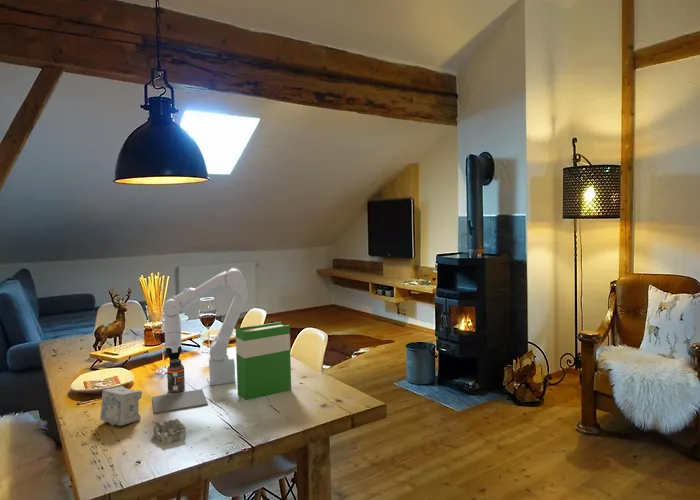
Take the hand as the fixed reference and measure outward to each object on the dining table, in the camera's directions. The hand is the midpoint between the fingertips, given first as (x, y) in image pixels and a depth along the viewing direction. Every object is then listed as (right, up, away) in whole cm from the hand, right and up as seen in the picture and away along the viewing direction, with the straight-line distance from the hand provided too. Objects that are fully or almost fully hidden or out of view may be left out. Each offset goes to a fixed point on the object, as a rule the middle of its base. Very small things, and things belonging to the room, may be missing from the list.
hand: (174, 366), depth 188 cm
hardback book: (+35, -8, -7) cm, 37 cm away
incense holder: (-6, -10, -31) cm, 33 cm away
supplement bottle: (+2, -8, -4) cm, 9 cm away
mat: (+7, -9, -15) cm, 19 cm away
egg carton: (+13, -11, -41) cm, 45 cm away
